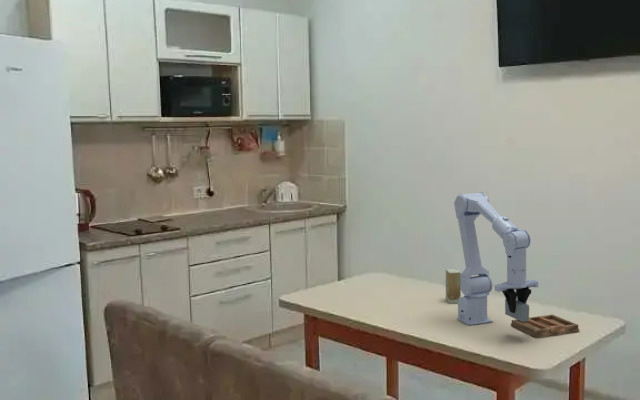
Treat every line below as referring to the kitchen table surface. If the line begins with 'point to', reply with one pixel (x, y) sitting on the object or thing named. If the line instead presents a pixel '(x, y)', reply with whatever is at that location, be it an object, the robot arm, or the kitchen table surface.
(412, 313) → the kitchen table surface
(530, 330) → the rack
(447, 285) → the skincare box
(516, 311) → the blue-gray rectangular block
